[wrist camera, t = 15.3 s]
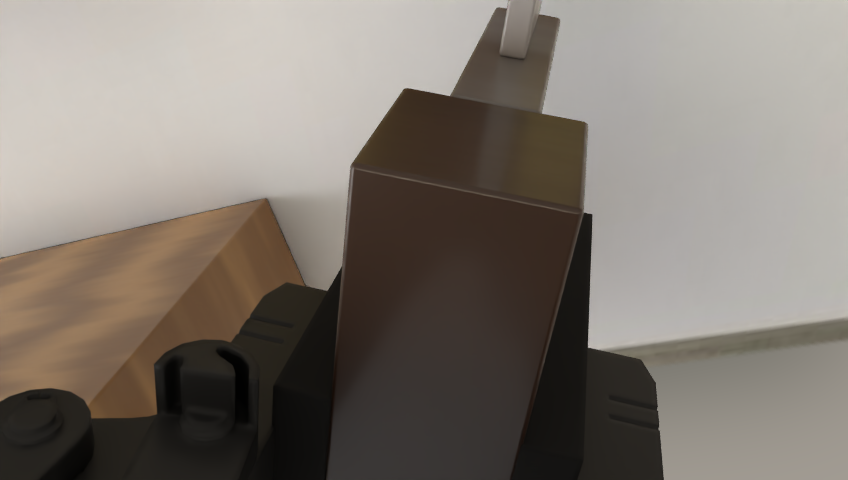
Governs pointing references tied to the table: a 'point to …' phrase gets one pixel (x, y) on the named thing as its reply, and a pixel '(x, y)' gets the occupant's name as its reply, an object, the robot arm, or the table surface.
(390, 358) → the brown and grey bar
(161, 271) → the wood grain block
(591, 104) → the table surface
